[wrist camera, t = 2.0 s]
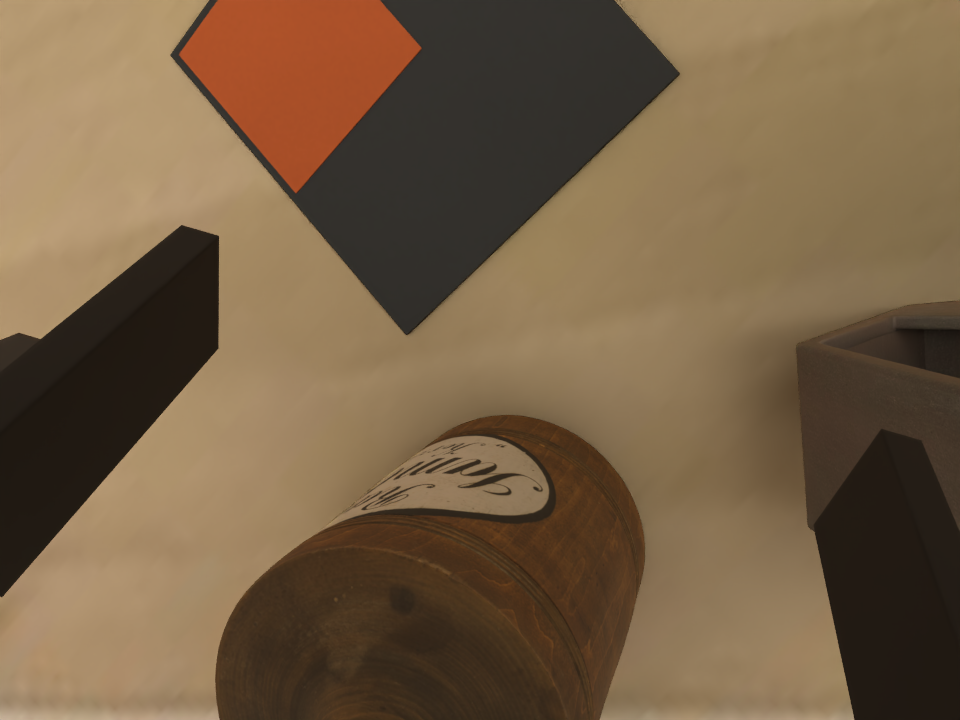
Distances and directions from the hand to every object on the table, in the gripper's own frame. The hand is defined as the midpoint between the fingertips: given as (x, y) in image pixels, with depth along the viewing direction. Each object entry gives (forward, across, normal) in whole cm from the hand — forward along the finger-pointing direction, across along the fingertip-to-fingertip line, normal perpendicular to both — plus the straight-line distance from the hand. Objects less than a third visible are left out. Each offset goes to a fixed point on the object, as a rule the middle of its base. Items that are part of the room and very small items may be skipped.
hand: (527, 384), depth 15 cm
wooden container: (+19, +3, -25) cm, 31 cm away
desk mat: (+29, -11, -4) cm, 32 cm away
